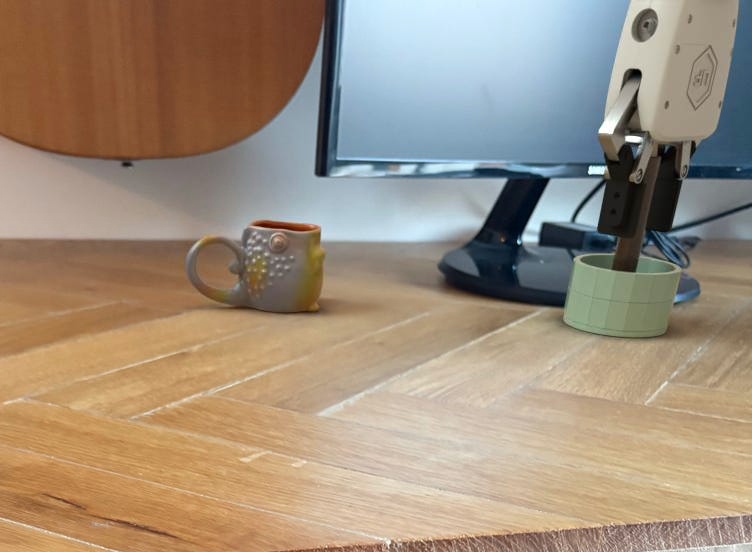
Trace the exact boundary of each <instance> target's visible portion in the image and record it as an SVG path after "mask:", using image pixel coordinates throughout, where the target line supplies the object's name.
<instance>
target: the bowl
mask: <svg viewBox="0 0 752 552" xmlns="http://www.w3.org/2000/svg"><path fill="white" fill-rule="evenodd" d="M614 255H615V253H586V254H580V255H577V256H575V257H573V260H572V265H571V270H570V276H569V280H568V286H567V292H566V296H565V302H564V306H563V307H564V308H563V316H562V321H563V322H564V323H565V324H566V325H568V326H570V327H571V328H573V329H577V330H580V331H584V332H587V333H592V334H596V335H603V336H609V337H617V338H652V337H658V336H661V335H664V334H665V333H666V332H667V331H668V328H669V327H668V326H669V324H670V321H671V317H672V313H673V308H674V304H675V300H676V295H677V292H678V289H679V284H680V279H681V275H682V271H683V268H682V266H681V267H680V265H679V264H677V263H676V264H675V263H673V262H670V261H667V260H663V259H659V258H654V257H648V256H641V255H640V257H639V262H638V266H637V271H636V273H634V272H624V271H615V270H611V269H612V264H613V260H614Z"/></svg>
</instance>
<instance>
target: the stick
mask: <svg viewBox="0 0 752 552" xmlns="http://www.w3.org/2000/svg"><path fill="white" fill-rule="evenodd" d="M635 157H636V154H635V155H634V159H635ZM660 162H661V157H660V156H656V155H650V158H649V161H648V164H647V167H646V170H645V173H644V176H643V178H642V180H641V182H640V183H645V184H646V189H645V194H644V198H643V203H642V207H641V212H640V217H639V221H638V226H637V231H636V234H635V236H634V237H633V238H621V237H617V240H616V246H615V250H614V254H615V255H614V260H613V264H612V269H611V270H615V271H624V272H634V273H636V271H637V266H638V262H639V257H640V256H641V253H642V248H643V244H644V239H645V234H646V231H647V230H646V225H647V221H648V216H649V212H650V207H651V203H652V198H653V194H654V189H655V184H656V180H657V175H658V171H659V166H660Z"/></svg>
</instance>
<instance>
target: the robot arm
mask: <svg viewBox="0 0 752 552" xmlns="http://www.w3.org/2000/svg"><path fill="white" fill-rule="evenodd" d="M739 3H740V0H630V2H629V6H628V9H627V12H626V16H625V20H624V23H623V27H622V30H621V34H620V37H619V41H618V46H617V49H616V53H615V58H614V63H613V67H612V71H611V75H610V80H609V85H608V89H607V96H606V102H605V109H604V117H603V118H604V119H603V122H602V123H601V125H600V127H599V130H598V132H597V140H598V142H599V144H600V147H601V149H602V151H603V159H604V162H605V168H604V171H603V178H604V180H606V182H605V186H604V191H603V197H602V200H601V207H600V210H599V211H600V212H599V217H598V221H597V226H596V231H597V233H598V234H600V235H605V236H611V237H615V238H616V237H617V238H618V237H621V238H633V237H634V236H635V234H636V231H637V226H638V221H639V217H640V212H641V207H642V203H643V198H644V194H645V189H646V184H645V183H640V182H641V180H642V178H643V176H644V173H645V170H646V167H647V164H648V161H649V158H650V155H656V156H660V157H661V162H660V166H659V171H658V175H657V180H656V184H655V189H654V194H653V198H652V203H651V207H650V212H649V216H648V221H647V225H646V230H645V231H652V232H657V233H664V234H665V233H669V232H671V230H672V228H673V224H674V219H675V216H676V211H677V208H678V203H679V198H680V194H681V191H682V187H683V182H684V179H685V178H686V177H687V175H688V172H689V168H690V161H691V160H692V158H693V156H694V154H695V153H696V151H697V147H698V146H699V145H700V144H701V142H702V141H703V140H705V139H707V138H708V137H710V136H711V135H713V134H714V132H715V131H716V130H717V127H718V125H719V120H720V116H721V112H722V108H723V103H724V99H725V93H726V89H727V83H728V80H729V79H728V78H729V74H730V67H731V63H732V57H733V51H734V46H735V39H736V32H737V25H738V16H739V6H740V5H739ZM666 146H668V148H667V150H666ZM633 148H637V151H636V154H635V155H636V157H635V155H634V152H633ZM634 158H635V159H634Z"/></svg>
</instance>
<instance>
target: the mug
mask: <svg viewBox="0 0 752 552" xmlns="http://www.w3.org/2000/svg"><path fill="white" fill-rule="evenodd" d="M321 240H322V226H320V225H317V224H314V223H308V222H307V223H305V222H291V221H280V220H270V219H259V220H254V221H251V222H250V223H249V224H246V225H244V227H243V228H242V233H241V237H240V245H241V246H240V245H239V244H238V243H236V241H235V240H233V239H231V238H229V237H228V236H226V235H223V234H218V233H217V234H216V233H214V234H209V235H206V236H204V237H202V238H200V239H199V240H197V241H196V242H195V243H194V244H193V245H192V246H191V248H190V249H189V251H188V252H187V255H186V258H185V273H186V276H187V279H188V281H189V282H190V284H191V285H192V286H193V287H194V289H195V290H196V291H197V292H198V293H200V295H202V296H204V297H205V298H207V299H209V300H211V301H214V302H217V303H220V304H224V305H228V306H236V307H244V308H245V307H246V308H251V309H256V310H259V311H264V312H270V313H298V312H316V311H319V310H320V306H319V305H318V300H319V298H320V296H321V293H322V290H323V286H324V261H325V259H326V250H325V249H324V248H323V247H322V245H321ZM211 245H222V246H224V247H227V248H228V249H230V250H231V251H232V252H233V254H234V255H235V258H233V259H231V260H230V261H229V263H228V265H227V270H228V271H229V273H231V274H233V275H237V280H236V282H235V284H234V286H232V287H230V288H220V287H216V286H212V285H210V284H208V283H207V282H205V281H204V280H203V278H202V277H201V275H200V274H199V272H198V270H197V259H198V256H199V254H200V253H201V251H203V250H204V249H205V248H206V247H208V246H211Z"/></svg>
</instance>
